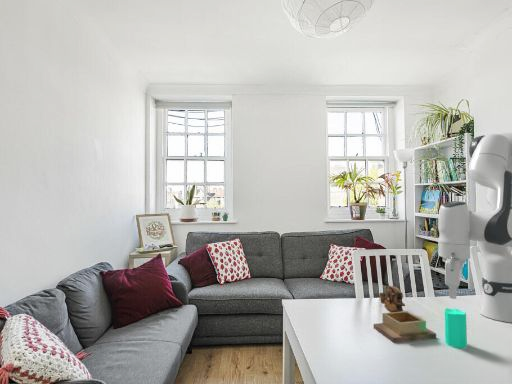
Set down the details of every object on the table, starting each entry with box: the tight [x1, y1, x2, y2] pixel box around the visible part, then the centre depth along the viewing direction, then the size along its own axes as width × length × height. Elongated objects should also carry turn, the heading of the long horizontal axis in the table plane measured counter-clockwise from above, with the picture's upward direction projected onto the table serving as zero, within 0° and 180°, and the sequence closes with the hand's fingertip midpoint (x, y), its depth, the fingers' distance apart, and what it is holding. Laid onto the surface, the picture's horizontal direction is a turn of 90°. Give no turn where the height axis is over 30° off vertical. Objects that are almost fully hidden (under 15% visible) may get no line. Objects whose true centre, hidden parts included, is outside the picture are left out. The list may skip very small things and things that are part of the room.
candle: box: [444, 308, 468, 349], centre depth 104 cm, size 6×6×12 cm
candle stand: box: [373, 310, 437, 344], centre depth 112 cm, size 16×12×6 cm
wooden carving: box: [379, 285, 406, 312], centre depth 135 cm, size 16×5×10 cm, turn 11°
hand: (454, 294), depth 104 cm, fingers open, 8 cm apart
